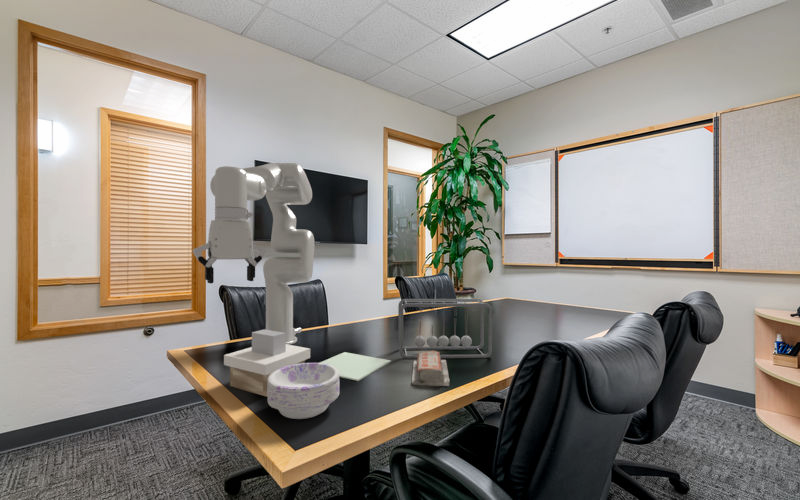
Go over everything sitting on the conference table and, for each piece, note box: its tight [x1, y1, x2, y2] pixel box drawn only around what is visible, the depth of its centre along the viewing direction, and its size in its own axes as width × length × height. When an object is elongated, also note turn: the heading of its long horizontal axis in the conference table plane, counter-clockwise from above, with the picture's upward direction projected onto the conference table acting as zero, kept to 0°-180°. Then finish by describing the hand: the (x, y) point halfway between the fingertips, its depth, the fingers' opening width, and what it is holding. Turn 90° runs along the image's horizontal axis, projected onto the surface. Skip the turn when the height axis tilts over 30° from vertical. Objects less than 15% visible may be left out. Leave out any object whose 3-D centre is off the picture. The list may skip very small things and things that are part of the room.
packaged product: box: [411, 350, 451, 387], centre depth 100 cm, size 18×5×10 cm
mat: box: [319, 351, 392, 382], centre depth 106 cm, size 18×18×1 cm
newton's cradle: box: [397, 298, 493, 360], centre depth 119 cm, size 30×10×18 cm, turn 93°
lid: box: [223, 328, 311, 375], centre depth 93 cm, size 15×15×8 cm
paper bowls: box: [266, 362, 341, 420], centre depth 78 cm, size 15×15×8 cm
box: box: [229, 360, 306, 397], centre depth 93 cm, size 13×13×7 cm
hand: (230, 281), depth 92 cm, fingers open, 9 cm apart
